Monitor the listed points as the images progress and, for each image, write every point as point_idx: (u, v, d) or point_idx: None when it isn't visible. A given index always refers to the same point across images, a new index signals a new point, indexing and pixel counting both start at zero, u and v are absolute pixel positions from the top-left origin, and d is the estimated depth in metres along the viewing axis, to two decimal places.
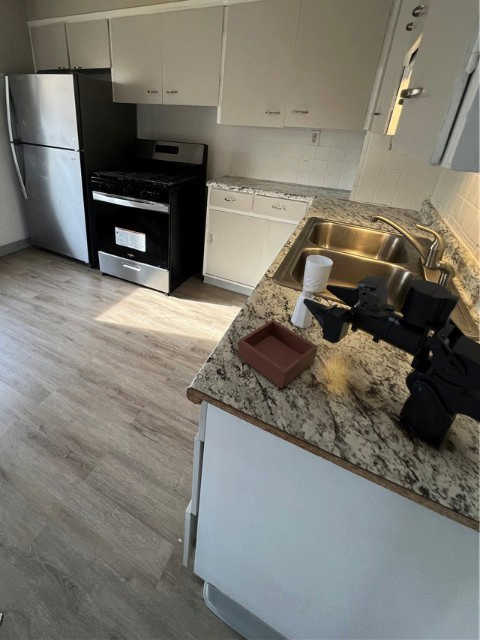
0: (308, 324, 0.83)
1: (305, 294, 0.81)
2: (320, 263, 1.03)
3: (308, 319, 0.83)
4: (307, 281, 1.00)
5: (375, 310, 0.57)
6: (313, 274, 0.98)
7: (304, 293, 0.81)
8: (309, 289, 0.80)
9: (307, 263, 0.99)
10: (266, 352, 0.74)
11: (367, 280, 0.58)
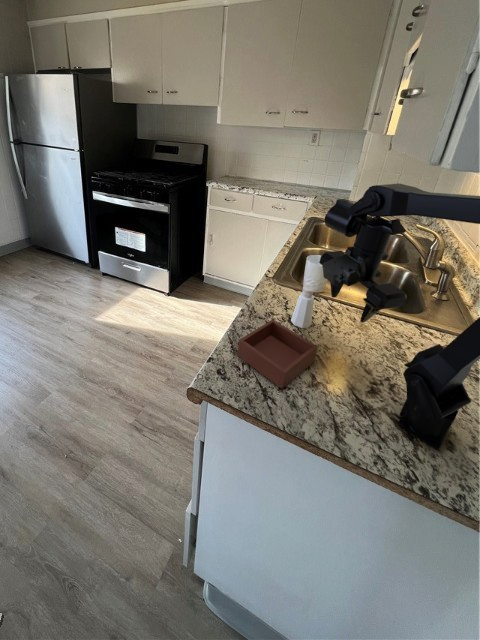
0: (308, 324, 0.83)
1: (305, 294, 0.81)
2: None
3: (308, 319, 0.83)
4: (307, 281, 1.00)
5: (359, 266, 0.61)
6: (313, 274, 0.98)
7: (304, 293, 0.81)
8: (309, 289, 0.80)
9: (307, 263, 0.99)
10: (266, 352, 0.74)
11: (332, 279, 0.63)
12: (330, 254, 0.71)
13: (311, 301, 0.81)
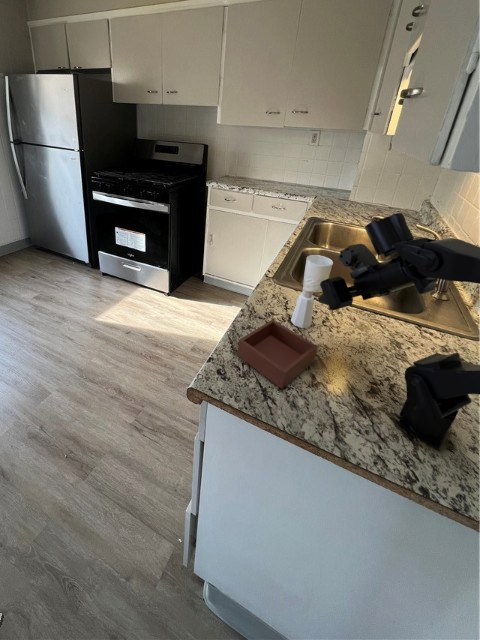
0: (308, 324, 0.83)
1: (305, 294, 0.81)
2: (320, 263, 1.03)
3: (308, 319, 0.83)
4: (307, 281, 1.00)
5: (362, 266, 0.62)
6: (313, 274, 0.98)
7: (304, 293, 0.81)
8: (309, 289, 0.80)
9: (307, 263, 0.99)
10: (266, 352, 0.74)
11: None
12: None
13: (311, 301, 0.81)
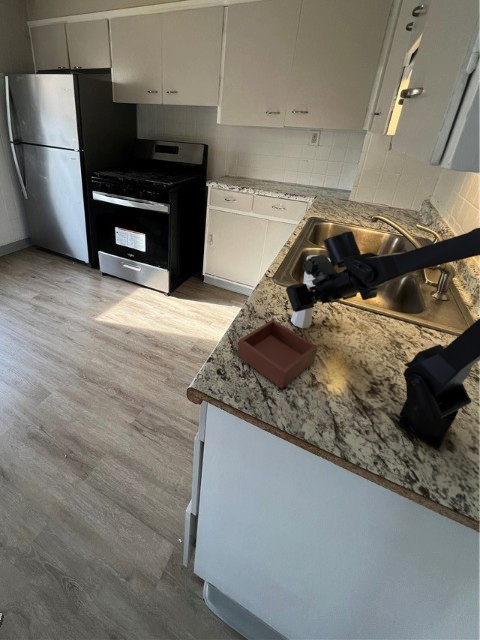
0: (308, 324, 0.83)
1: None
2: None
3: (308, 319, 0.83)
4: (307, 281, 1.00)
5: (321, 275, 0.73)
6: None
7: None
8: (309, 289, 0.80)
9: None
10: (266, 352, 0.74)
11: None
12: None
13: None
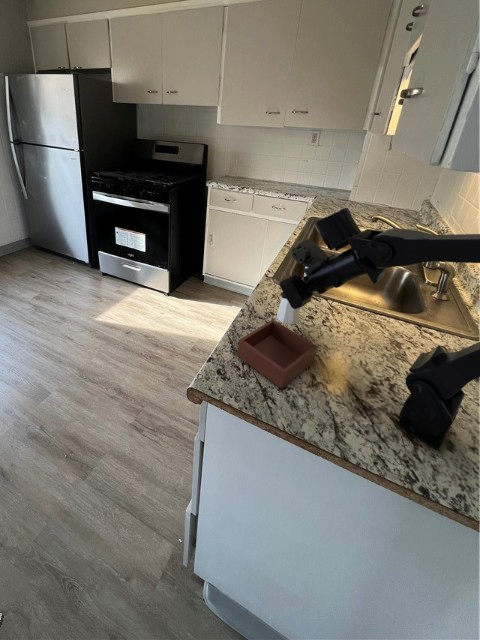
0: (297, 319, 0.74)
1: None
2: None
3: (297, 313, 0.73)
4: None
5: (315, 262, 0.64)
6: None
7: None
8: None
9: None
10: (266, 352, 0.74)
11: None
12: None
13: None
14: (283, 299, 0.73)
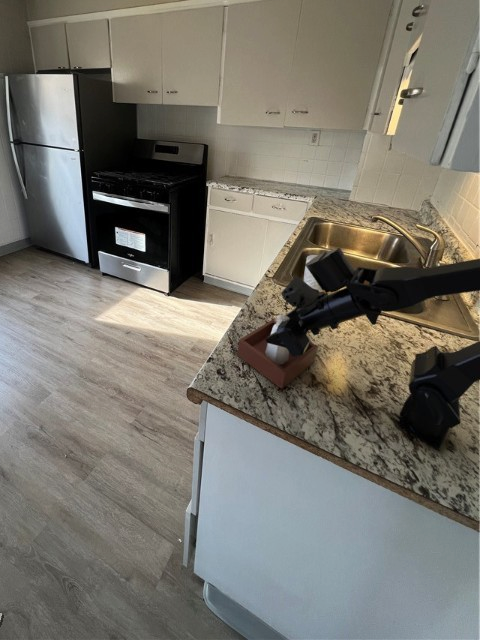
0: (287, 357, 0.71)
1: None
2: None
3: (287, 352, 0.70)
4: (307, 281, 1.00)
5: (309, 303, 0.61)
6: None
7: None
8: None
9: None
10: None
11: None
12: (317, 294, 0.69)
13: None
14: None
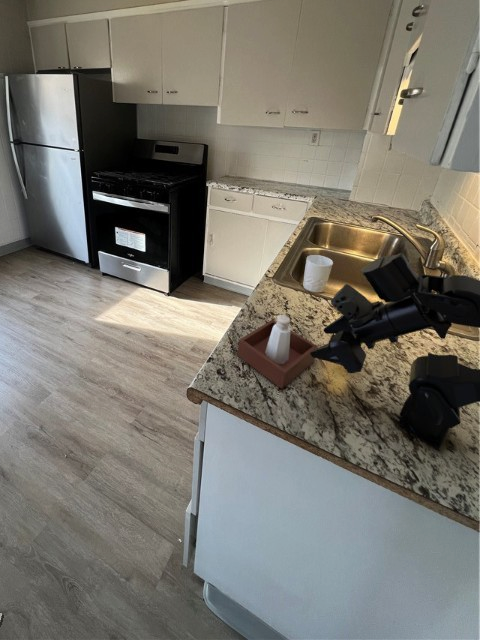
0: (287, 357, 0.71)
1: (283, 327, 0.67)
2: (320, 263, 1.03)
3: (287, 352, 0.70)
4: (307, 281, 1.00)
5: (364, 314, 0.55)
6: (313, 274, 0.98)
7: (281, 326, 0.68)
8: (286, 320, 0.67)
9: (307, 263, 0.99)
10: None
11: (335, 296, 0.58)
12: None
13: (289, 333, 0.68)
14: (273, 340, 0.69)
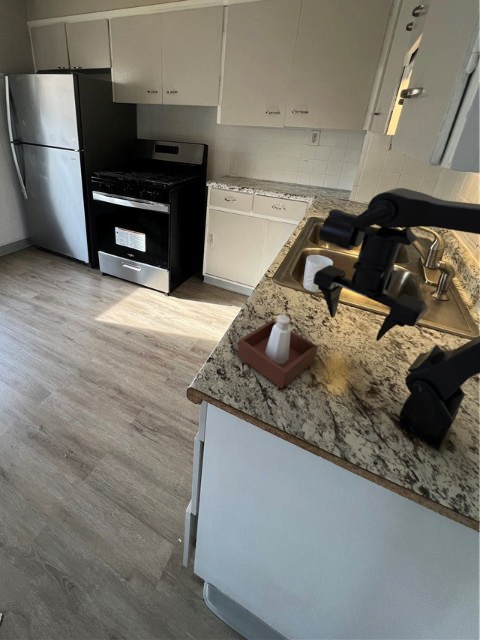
0: (287, 357, 0.71)
1: (283, 327, 0.67)
2: (320, 263, 1.03)
3: (287, 352, 0.70)
4: (307, 281, 1.00)
5: None
6: (313, 274, 0.98)
7: (281, 326, 0.68)
8: (286, 320, 0.67)
9: (307, 263, 0.99)
10: None
11: None
12: (415, 298, 0.55)
13: (289, 333, 0.68)
14: (273, 340, 0.69)
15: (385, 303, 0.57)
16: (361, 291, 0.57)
